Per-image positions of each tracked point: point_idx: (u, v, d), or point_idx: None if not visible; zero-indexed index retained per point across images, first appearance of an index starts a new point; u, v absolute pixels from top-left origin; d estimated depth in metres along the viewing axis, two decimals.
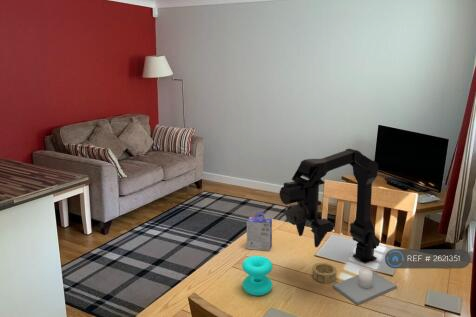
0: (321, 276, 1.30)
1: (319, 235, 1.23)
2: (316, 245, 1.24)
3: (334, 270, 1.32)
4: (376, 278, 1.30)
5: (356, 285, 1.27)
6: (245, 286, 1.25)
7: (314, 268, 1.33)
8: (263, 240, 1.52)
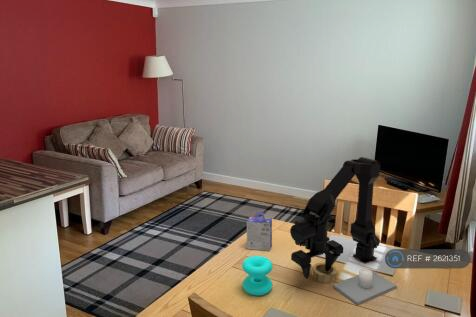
0: (321, 276, 1.30)
1: (304, 267, 1.28)
2: None
3: (334, 270, 1.32)
4: (376, 278, 1.30)
5: (356, 285, 1.27)
6: (245, 286, 1.25)
7: (314, 268, 1.33)
8: (263, 240, 1.52)
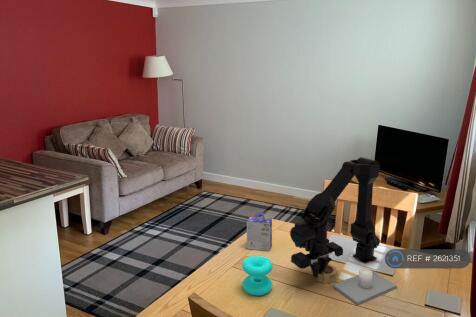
0: (321, 276, 1.30)
1: (313, 266, 1.30)
2: (313, 275, 1.31)
3: (334, 270, 1.32)
4: (376, 278, 1.30)
5: (356, 285, 1.27)
6: (245, 286, 1.25)
7: None
8: (263, 240, 1.52)
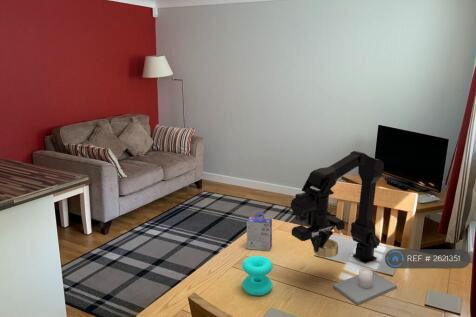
0: (322, 250, 1.27)
1: (314, 240, 1.27)
2: (314, 249, 1.29)
3: (336, 245, 1.29)
4: (376, 278, 1.30)
5: (356, 285, 1.27)
6: (245, 286, 1.25)
7: None
8: (263, 240, 1.52)
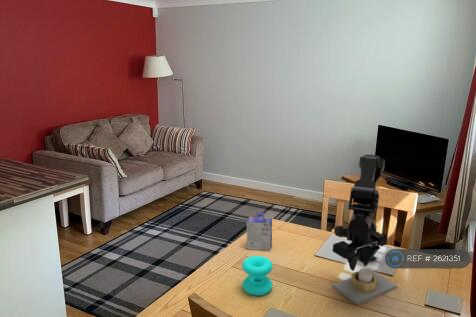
0: (361, 286, 1.22)
1: (350, 258, 1.20)
2: (350, 267, 1.22)
3: (375, 279, 1.24)
4: None
5: None
6: (245, 286, 1.25)
7: (353, 277, 1.26)
8: (263, 240, 1.52)
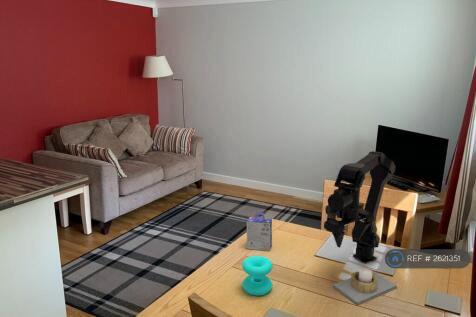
0: (361, 286, 1.22)
1: (336, 235, 1.28)
2: (337, 244, 1.30)
3: (375, 279, 1.24)
4: None
5: None
6: (245, 286, 1.25)
7: (353, 277, 1.26)
8: (263, 240, 1.52)
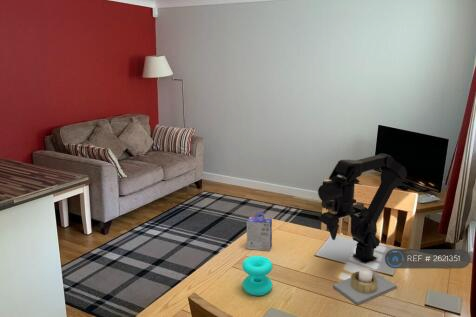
0: (361, 286, 1.22)
1: (331, 228, 1.33)
2: (331, 237, 1.35)
3: (375, 279, 1.24)
4: None
5: None
6: (245, 286, 1.25)
7: (353, 277, 1.26)
8: (263, 240, 1.52)
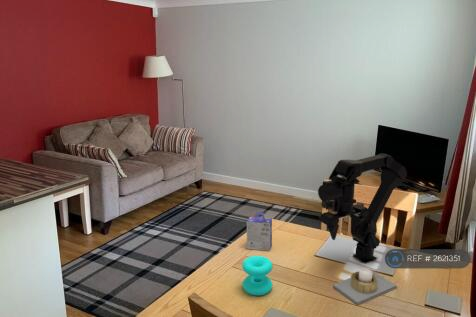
0: (361, 286, 1.22)
1: (331, 228, 1.33)
2: (331, 237, 1.35)
3: (375, 279, 1.24)
4: None
5: None
6: (245, 286, 1.25)
7: (353, 277, 1.26)
8: (263, 240, 1.52)
